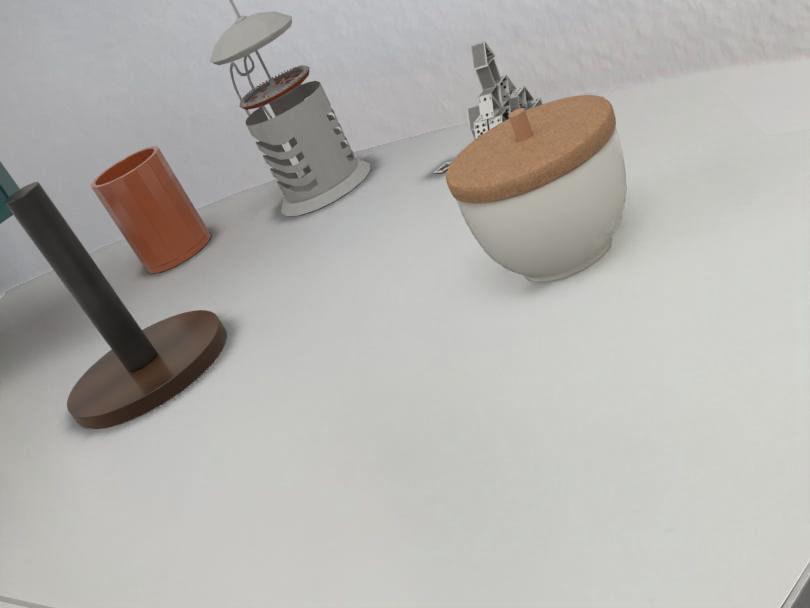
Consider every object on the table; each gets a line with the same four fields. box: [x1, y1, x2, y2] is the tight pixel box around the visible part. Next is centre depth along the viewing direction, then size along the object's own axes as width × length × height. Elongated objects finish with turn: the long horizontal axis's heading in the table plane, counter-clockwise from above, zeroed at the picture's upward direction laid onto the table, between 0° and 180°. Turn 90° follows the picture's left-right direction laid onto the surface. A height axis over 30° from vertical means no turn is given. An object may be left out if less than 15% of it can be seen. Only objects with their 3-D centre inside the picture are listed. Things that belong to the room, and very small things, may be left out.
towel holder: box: [5, 181, 228, 430], centre depth 75 cm, size 14×14×15 cm
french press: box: [209, 0, 371, 217], centre depth 88 cm, size 10×12×25 cm
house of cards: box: [433, 40, 543, 174], centre depth 83 cm, size 9×9×8 cm
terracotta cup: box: [90, 145, 212, 274], centre depth 97 cm, size 7×7×9 cm
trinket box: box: [445, 94, 628, 284], centre depth 62 cm, size 11×11×9 cm
